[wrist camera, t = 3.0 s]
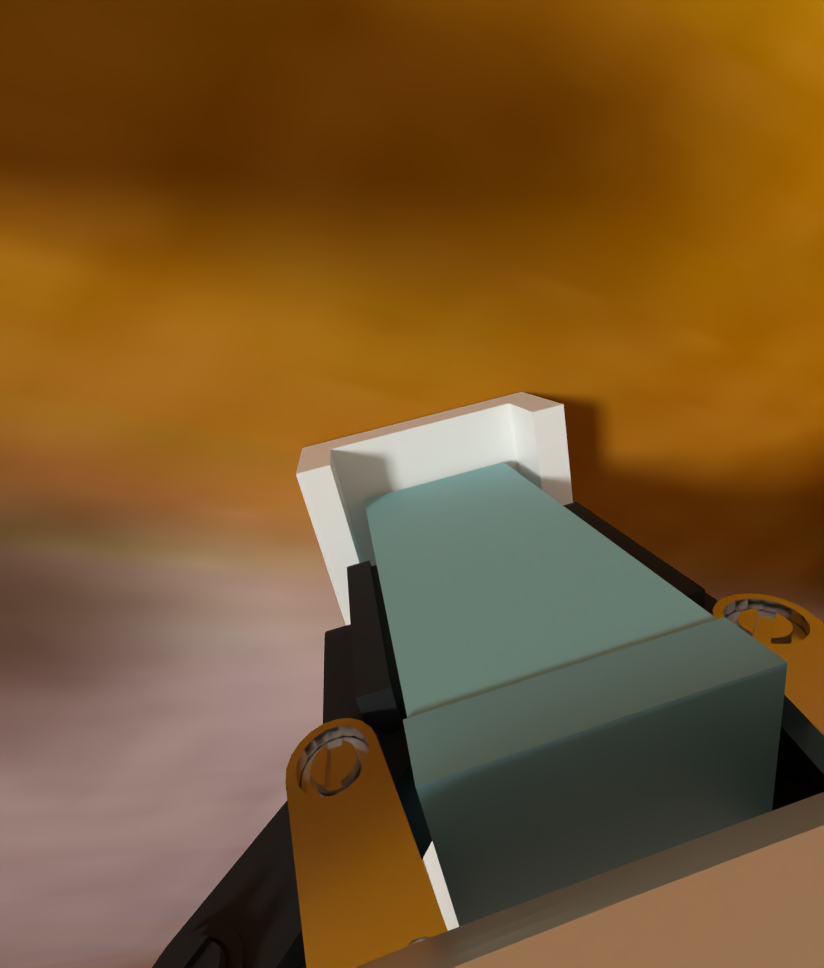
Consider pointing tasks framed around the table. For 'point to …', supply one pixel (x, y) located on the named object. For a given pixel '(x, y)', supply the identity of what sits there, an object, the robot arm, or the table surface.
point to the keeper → (560, 692)
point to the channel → (421, 459)
